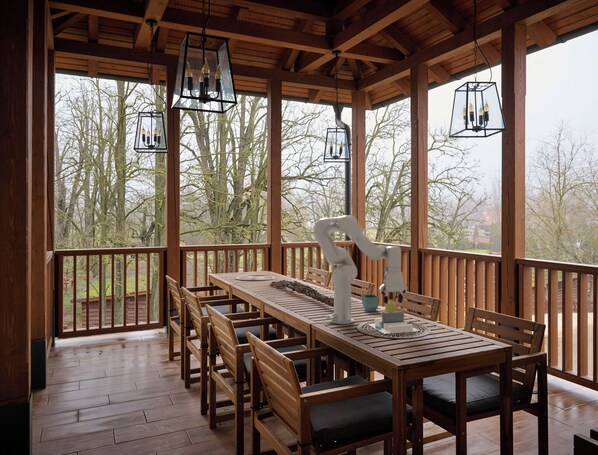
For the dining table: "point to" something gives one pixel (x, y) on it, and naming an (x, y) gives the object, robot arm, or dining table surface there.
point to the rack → (392, 327)
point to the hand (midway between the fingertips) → (393, 302)
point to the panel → (392, 317)
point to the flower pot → (370, 302)
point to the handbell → (390, 304)
